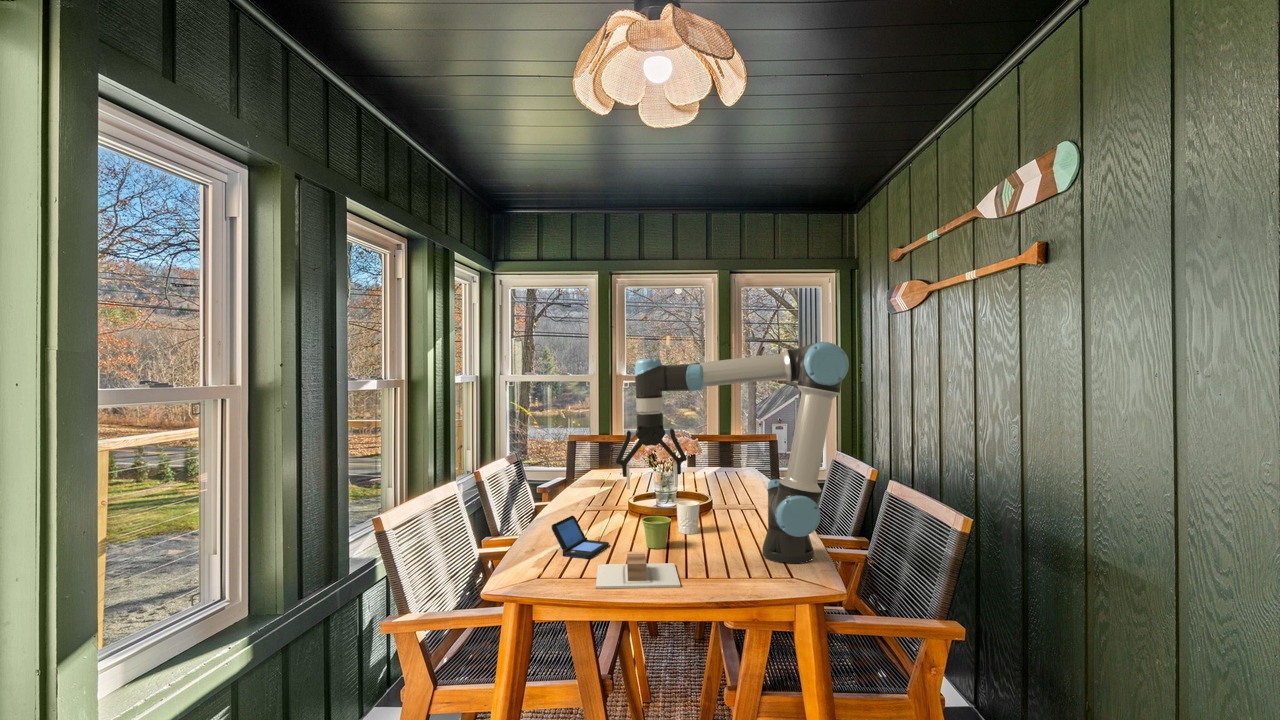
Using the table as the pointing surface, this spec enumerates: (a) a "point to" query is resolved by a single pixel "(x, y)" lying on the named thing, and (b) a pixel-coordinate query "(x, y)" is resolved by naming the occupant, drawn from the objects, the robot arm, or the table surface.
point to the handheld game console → (576, 539)
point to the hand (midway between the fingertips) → (652, 487)
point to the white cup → (688, 517)
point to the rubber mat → (618, 578)
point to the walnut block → (636, 566)
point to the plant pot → (656, 531)
